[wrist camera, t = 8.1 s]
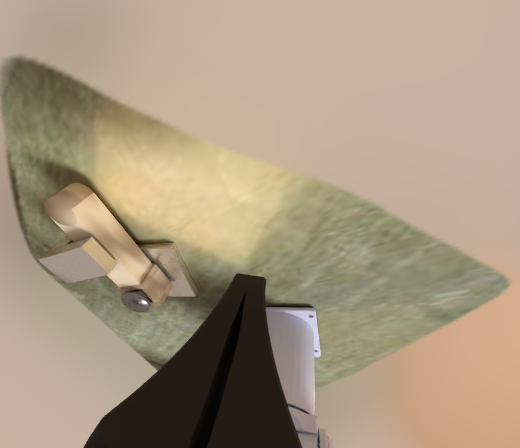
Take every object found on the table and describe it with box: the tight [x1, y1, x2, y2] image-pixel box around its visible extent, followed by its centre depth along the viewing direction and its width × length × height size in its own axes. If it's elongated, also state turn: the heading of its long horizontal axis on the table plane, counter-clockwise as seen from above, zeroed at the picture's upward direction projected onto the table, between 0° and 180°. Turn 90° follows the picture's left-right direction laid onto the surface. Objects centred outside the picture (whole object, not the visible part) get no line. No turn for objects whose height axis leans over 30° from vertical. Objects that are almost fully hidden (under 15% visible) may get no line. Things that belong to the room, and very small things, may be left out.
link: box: [43, 183, 173, 307], centre depth 23 cm, size 13×3×2 cm, turn 21°
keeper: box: [38, 235, 118, 284], centre depth 23 cm, size 3×5×5 cm, turn 113°
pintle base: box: [121, 243, 198, 312], centre depth 26 cm, size 7×7×4 cm
